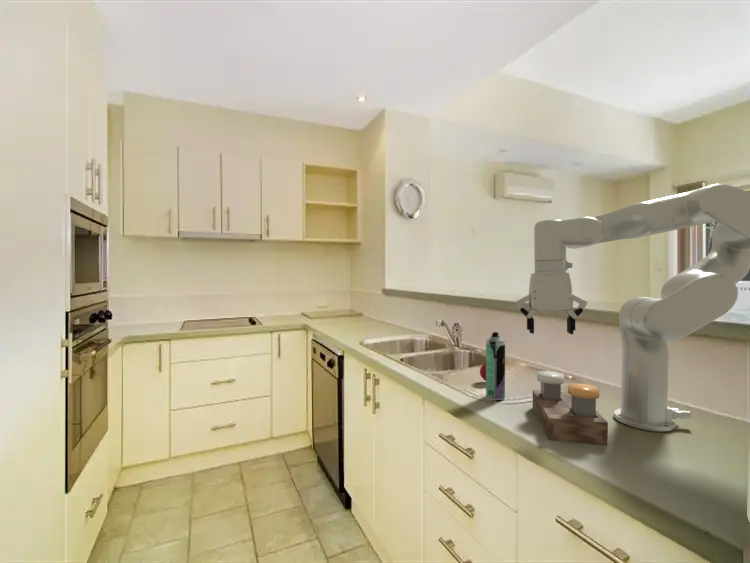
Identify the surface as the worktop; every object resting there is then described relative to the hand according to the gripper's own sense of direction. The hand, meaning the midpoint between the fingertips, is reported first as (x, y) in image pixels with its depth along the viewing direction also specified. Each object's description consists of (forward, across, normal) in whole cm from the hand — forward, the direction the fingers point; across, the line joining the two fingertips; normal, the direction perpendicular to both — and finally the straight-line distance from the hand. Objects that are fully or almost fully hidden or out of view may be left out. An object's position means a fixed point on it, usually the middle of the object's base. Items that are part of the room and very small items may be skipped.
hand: (550, 332), depth 97 cm
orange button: (+18, -5, +10) cm, 21 cm away
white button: (+18, 0, 0) cm, 18 cm away
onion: (+22, +14, -26) cm, 37 cm away
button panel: (+22, -2, +5) cm, 23 cm away
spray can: (+22, +13, -11) cm, 28 cm away
